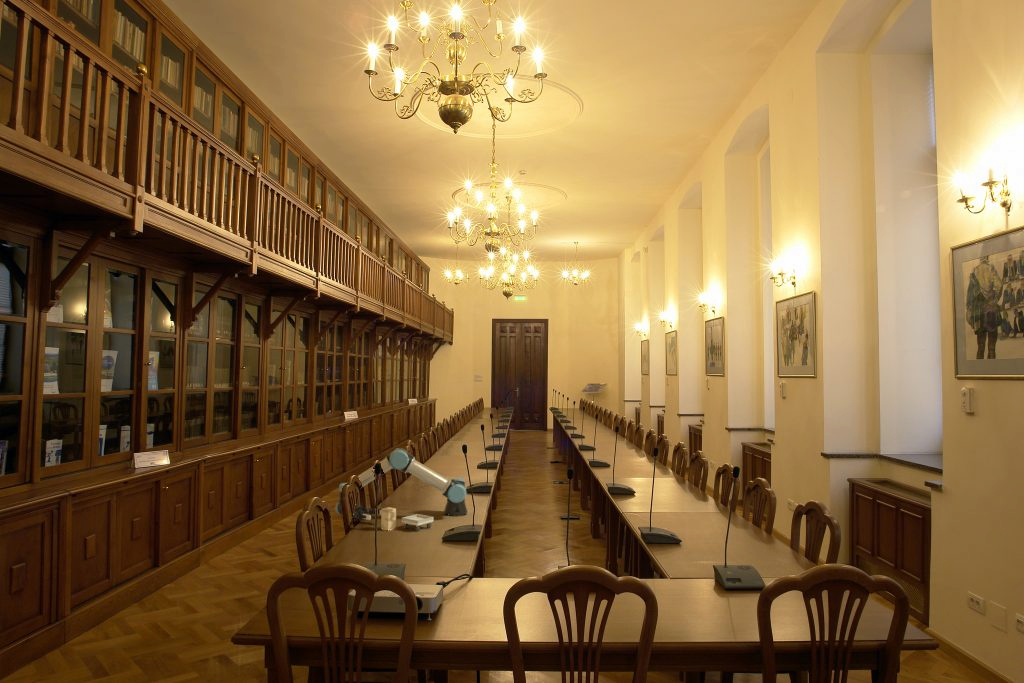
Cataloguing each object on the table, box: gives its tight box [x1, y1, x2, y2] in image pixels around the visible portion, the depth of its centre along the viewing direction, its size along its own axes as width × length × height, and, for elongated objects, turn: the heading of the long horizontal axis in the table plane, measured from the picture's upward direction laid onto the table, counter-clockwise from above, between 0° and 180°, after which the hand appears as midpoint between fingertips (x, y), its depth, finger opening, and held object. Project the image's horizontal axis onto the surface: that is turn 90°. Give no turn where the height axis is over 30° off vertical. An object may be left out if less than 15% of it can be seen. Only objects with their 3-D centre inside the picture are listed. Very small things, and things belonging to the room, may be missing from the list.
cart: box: [401, 513, 434, 532], centre depth 395 cm, size 13×13×6 cm
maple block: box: [380, 506, 397, 532], centre depth 392 cm, size 6×6×12 cm
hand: (379, 515), depth 397 cm, fingers open, 13 cm apart
